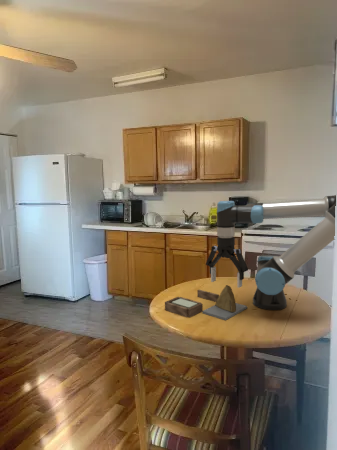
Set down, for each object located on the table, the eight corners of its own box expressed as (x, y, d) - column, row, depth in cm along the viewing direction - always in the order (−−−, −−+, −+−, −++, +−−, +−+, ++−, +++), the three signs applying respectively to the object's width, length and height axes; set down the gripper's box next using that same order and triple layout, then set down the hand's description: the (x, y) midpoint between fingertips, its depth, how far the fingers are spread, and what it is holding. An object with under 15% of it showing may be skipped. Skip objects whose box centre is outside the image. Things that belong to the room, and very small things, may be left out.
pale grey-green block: (198, 312, 150) (198, 303, 150) (189, 316, 146) (189, 307, 146) (180, 306, 157) (180, 298, 157) (171, 310, 153) (171, 301, 153)
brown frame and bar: (221, 302, 162) (221, 295, 161) (188, 318, 144) (188, 310, 143) (197, 295, 171) (197, 289, 171) (164, 309, 153) (163, 302, 153)
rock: (242, 307, 145) (238, 297, 155) (231, 293, 144) (228, 283, 153) (222, 321, 147) (219, 309, 157) (210, 307, 146) (208, 296, 155)
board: (247, 308, 154) (247, 306, 154) (225, 320, 141) (225, 318, 140) (224, 302, 162) (224, 300, 162) (202, 313, 149) (202, 311, 148)
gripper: (256, 237, 141) (256, 287, 144) (207, 233, 158) (208, 277, 161) (247, 240, 136) (247, 291, 138) (197, 235, 152) (198, 280, 155)
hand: (226, 283), depth 149 cm, fingers open, 13 cm apart
